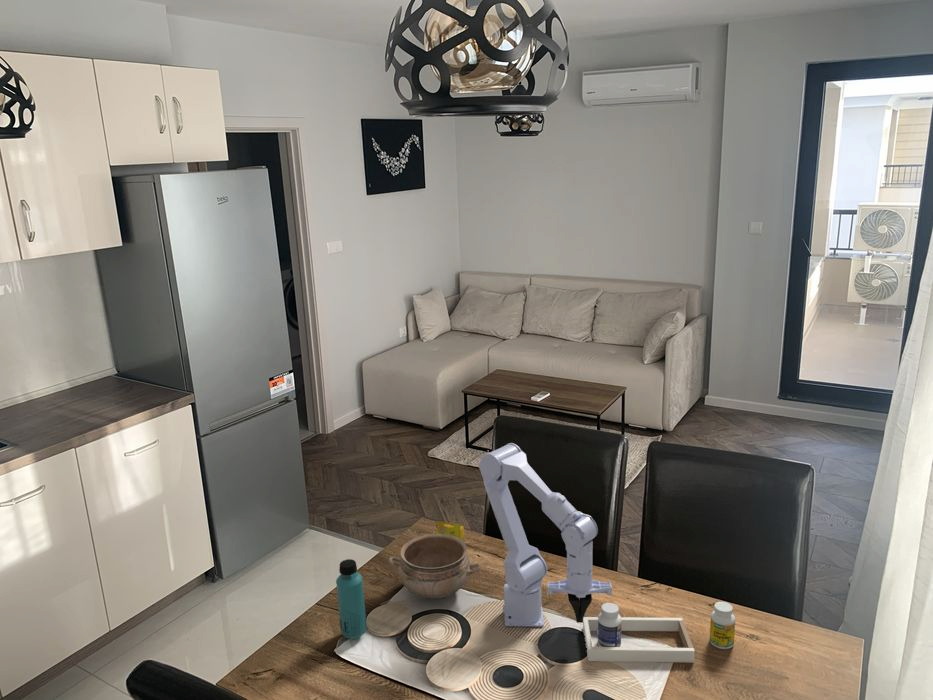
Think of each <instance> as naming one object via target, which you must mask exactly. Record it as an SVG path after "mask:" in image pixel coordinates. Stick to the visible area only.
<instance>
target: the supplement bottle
mask: <svg viewBox="0 0 933 700" xmlns="http://www.w3.org/2000/svg"><path fill="white" fill-rule="evenodd" d="M733 609H734V607H733V606H732V604H730V603H729V602H725V601H716V602H715V603H714V608H713V610H712V612H711V614H710V623H709V624H710V625H709V626H710V627H709V642H710V644H711V645H712V646H713V647H715V648H718V649H720V650H729V649H731V648H733V646H734V645H735V633H736V616H735V614H733V613H734V612H733Z"/></svg>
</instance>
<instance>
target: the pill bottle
mask: <svg viewBox="0 0 933 700" xmlns="http://www.w3.org/2000/svg"><path fill="white" fill-rule="evenodd" d="M600 607H601V609H600V613H599V614H598V616H597V617H598V631H597V645H598V647H622V631H621V626H622V619H621V615H620V614H619V613H620V607H619V606H618V605H617V604H615V603H612V602H605V603H603V604H602V605H601V606H600Z"/></svg>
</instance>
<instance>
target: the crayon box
mask: <svg viewBox="0 0 933 700" xmlns="http://www.w3.org/2000/svg"><path fill="white" fill-rule="evenodd" d="M436 525H437V529H436V530H437V534H447V535H452V536H455V537H457V538H459V539H461V540H462V541H463V542H464V543H465V542H466V541H465V526H463V525H461V524H459V523H453V522H445V521H439V520H437V524H436ZM465 544H466V543H465Z"/></svg>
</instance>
